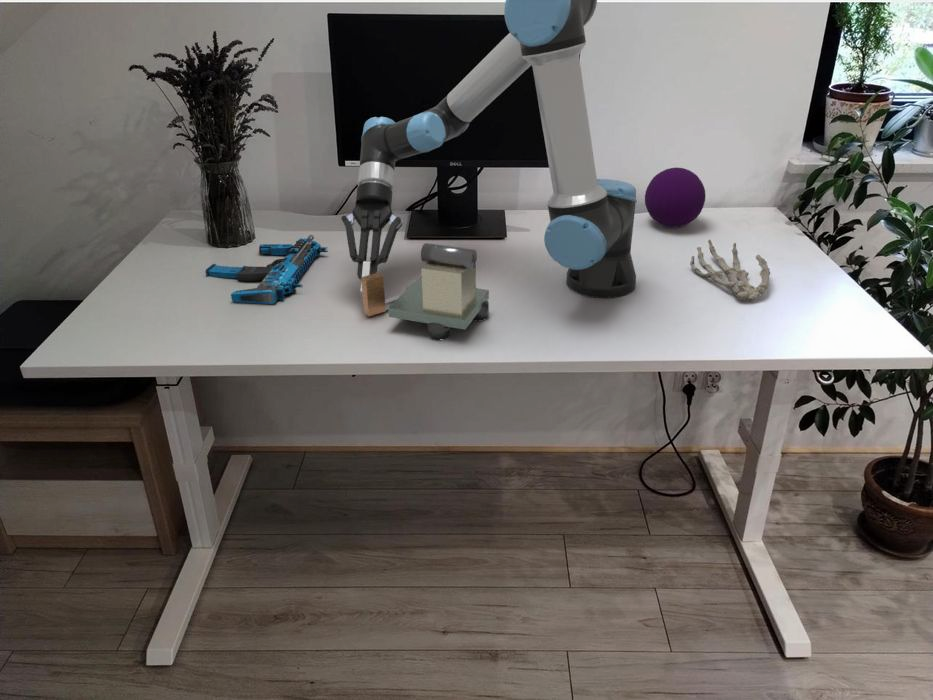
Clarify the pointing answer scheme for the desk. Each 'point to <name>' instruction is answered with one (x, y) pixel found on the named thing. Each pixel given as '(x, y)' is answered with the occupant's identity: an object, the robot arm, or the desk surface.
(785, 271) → the desk surface
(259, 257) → the desk surface
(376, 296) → the footscrew lever
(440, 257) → the footed square platform
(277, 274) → the submachine gun
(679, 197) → the toy ball
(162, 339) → the desk surface
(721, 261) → the skeleton model
